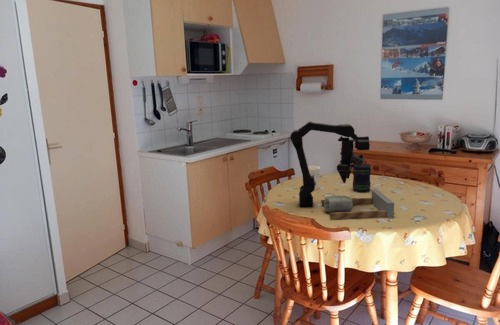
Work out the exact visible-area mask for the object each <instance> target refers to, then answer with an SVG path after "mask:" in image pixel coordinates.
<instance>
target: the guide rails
mask: <svg viewBox="0 0 500 325" xmlns="http://www.w3.org/2000/svg"><path fill="white" fill-rule="evenodd" d="M351 199H352V205H353V206H362V205H363V206H364V205H373V198H371V197H360V198H359V197H357V198H356V197H354V198H351ZM324 200H325V199H321V207H323V208H324ZM379 218H380V219H381V218H387V211H386V210H378V209H377V210H361V211H359V210H357V211H350V212H330V213H329V219H330V221H335V220H336V221H339V220H353V219H354V220H355V219H356V220H357V219H358V220H359V219H360V220H362V219H379Z"/></svg>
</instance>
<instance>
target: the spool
mask: <svg viewBox="0 0 500 325" xmlns="http://www.w3.org/2000/svg"><path fill="white" fill-rule="evenodd" d="M352 199H353V198H351V197H350V196H346V195H330V196H326V197H325V198H324V199H323V200H324V206H323V208H324V210H325V212H326V213H329V214H330V213H335V212H352V210H353V206H354V205H352Z"/></svg>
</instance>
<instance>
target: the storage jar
mask: <svg viewBox="0 0 500 325" xmlns="http://www.w3.org/2000/svg"><path fill="white" fill-rule="evenodd" d="M371 167H372V166H371V164H370V163H365V162H364V163H363V165H362V166H359V165H357V164H355V166H354V167H353V168H352V175H353V178H352V180H353V181H352V191H353V192H355V193H360V194H366V193H370V192H371V185H372V184H371V174H372V168H371Z"/></svg>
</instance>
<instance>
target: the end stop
mask: <svg viewBox="0 0 500 325" xmlns="http://www.w3.org/2000/svg"><path fill="white" fill-rule="evenodd" d="M370 198H373V204H372V205H373V206H374V207H375V208H376V209H377V210H386V211H387V217H386V218H387V219H388V218H390V219H391V218H395V217H394V216H395V215H394V214H395V202H394V201H393V200H391V199H390V197H387V196H386V195H385V194H383V193H382V191H380V190H379V189H371V196H370Z"/></svg>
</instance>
